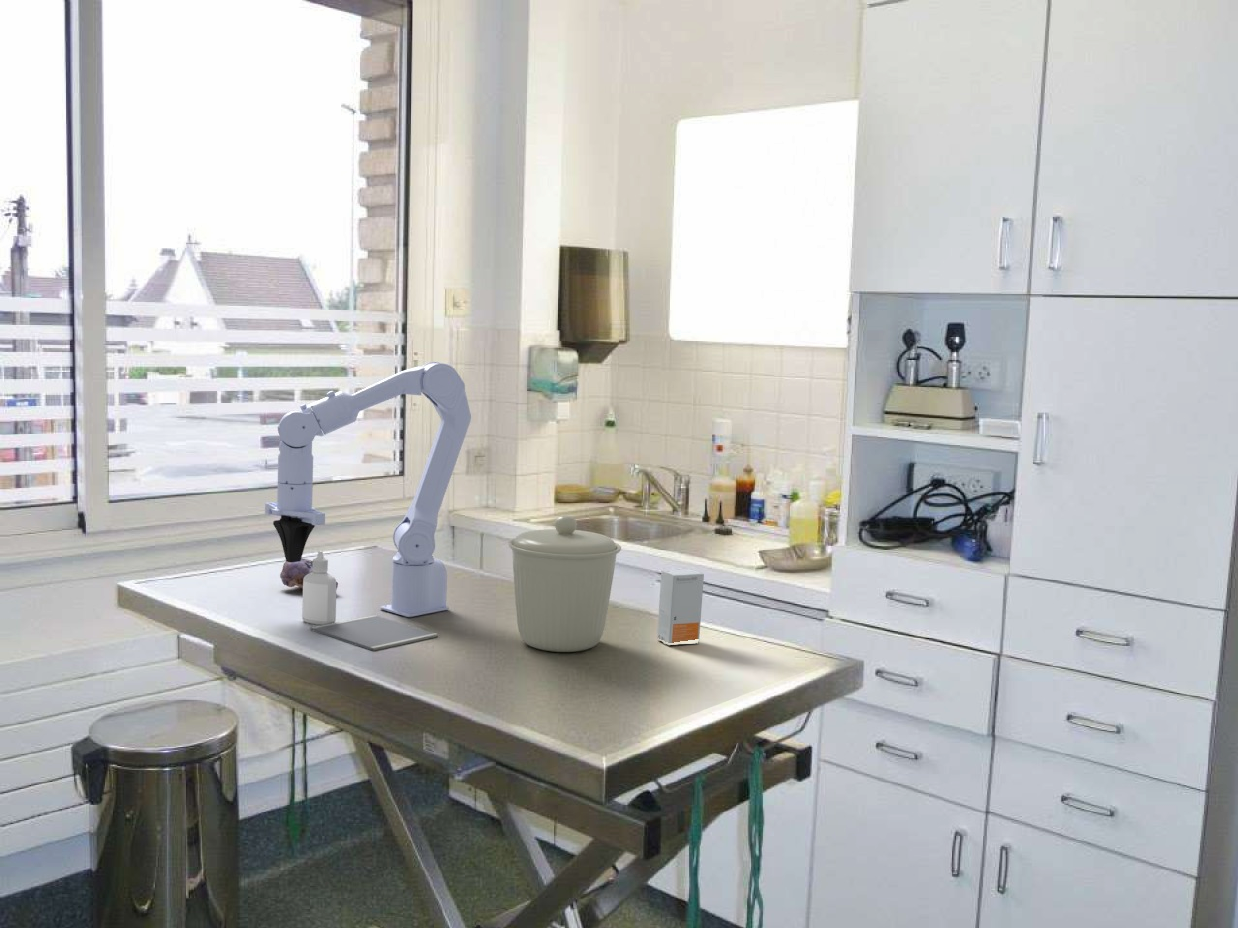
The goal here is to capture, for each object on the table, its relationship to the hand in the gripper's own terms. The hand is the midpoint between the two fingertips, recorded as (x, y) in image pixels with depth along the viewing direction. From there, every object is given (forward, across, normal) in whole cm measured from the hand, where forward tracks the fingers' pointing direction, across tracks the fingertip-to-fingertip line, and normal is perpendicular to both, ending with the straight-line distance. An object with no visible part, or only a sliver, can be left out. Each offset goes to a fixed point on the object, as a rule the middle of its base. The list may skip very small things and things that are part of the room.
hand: (293, 561), depth 189 cm
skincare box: (+9, +55, +37) cm, 67 cm away
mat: (+9, +19, +3) cm, 21 cm away
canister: (+9, +43, +21) cm, 49 cm away
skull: (+10, -12, +12) cm, 20 cm away
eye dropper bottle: (+9, +8, 0) cm, 12 cm away
